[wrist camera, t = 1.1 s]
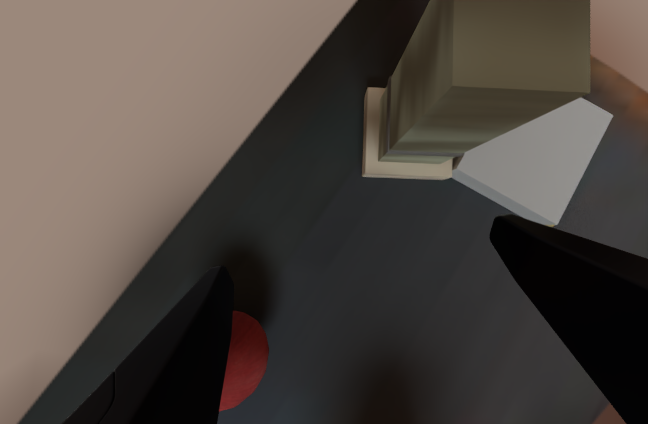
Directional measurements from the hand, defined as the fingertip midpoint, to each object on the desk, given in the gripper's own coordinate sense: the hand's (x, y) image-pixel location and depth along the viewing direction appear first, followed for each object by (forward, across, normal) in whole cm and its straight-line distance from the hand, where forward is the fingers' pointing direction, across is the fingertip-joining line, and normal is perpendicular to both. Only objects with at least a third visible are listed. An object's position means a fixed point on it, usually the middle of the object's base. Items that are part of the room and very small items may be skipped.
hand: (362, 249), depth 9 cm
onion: (+7, +9, +13) cm, 18 cm away
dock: (+13, -17, +4) cm, 22 cm away
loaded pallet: (+15, -7, +2) cm, 17 cm away
